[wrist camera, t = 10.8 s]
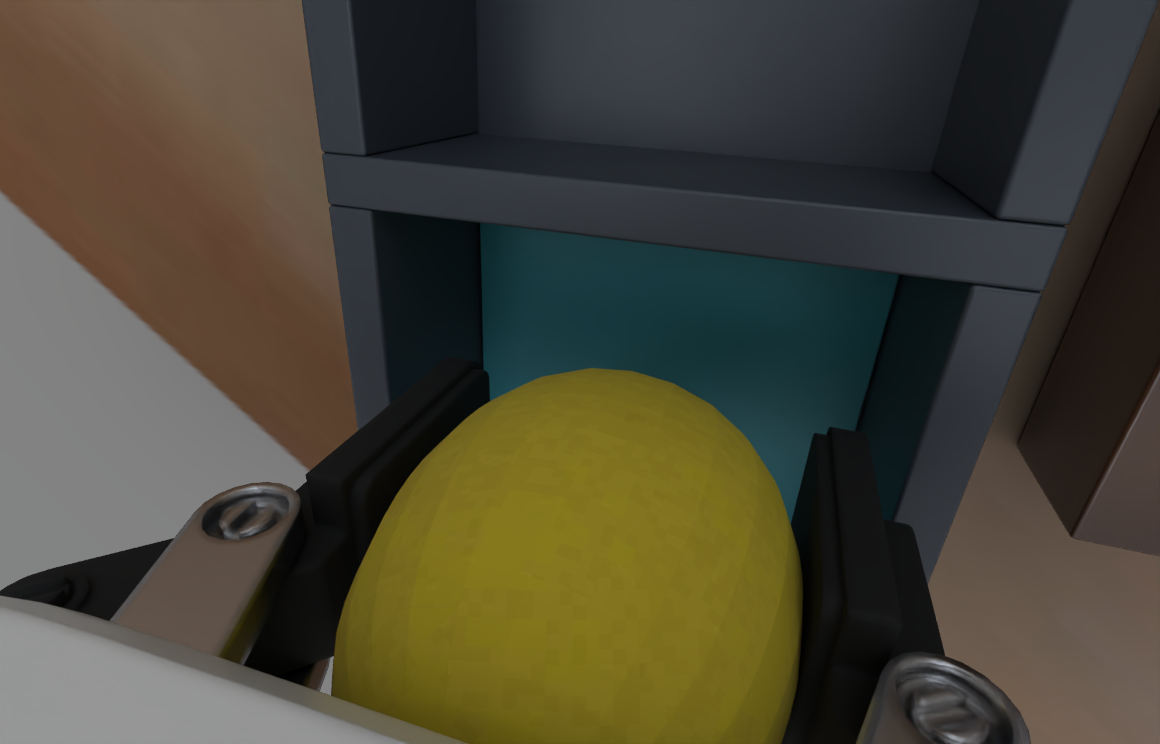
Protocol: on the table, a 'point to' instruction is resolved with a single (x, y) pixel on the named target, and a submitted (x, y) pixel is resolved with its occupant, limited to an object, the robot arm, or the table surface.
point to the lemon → (582, 577)
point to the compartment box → (719, 204)
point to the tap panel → (1109, 385)
